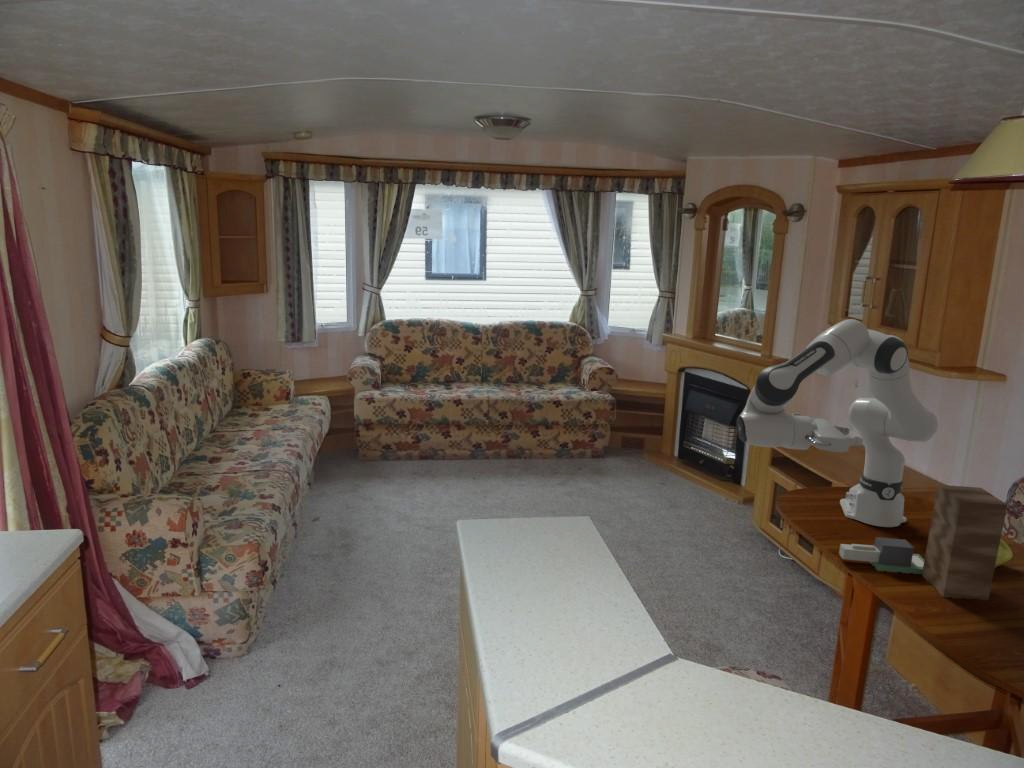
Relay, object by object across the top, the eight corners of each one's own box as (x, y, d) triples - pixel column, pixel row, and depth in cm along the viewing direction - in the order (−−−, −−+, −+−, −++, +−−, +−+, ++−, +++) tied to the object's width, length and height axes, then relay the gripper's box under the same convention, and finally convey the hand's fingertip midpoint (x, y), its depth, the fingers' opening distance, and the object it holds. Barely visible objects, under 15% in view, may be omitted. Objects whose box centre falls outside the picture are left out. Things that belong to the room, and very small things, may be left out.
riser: (921, 575, 199) (937, 484, 193) (963, 578, 198) (981, 487, 192) (943, 597, 187) (961, 501, 182) (988, 600, 186) (1007, 504, 181)
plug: (837, 552, 208) (840, 534, 206) (902, 557, 206) (905, 539, 204) (844, 560, 202) (846, 542, 201) (910, 566, 200) (913, 548, 199)
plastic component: (969, 571, 197) (941, 542, 204) (955, 588, 202) (928, 559, 209) (1020, 557, 204) (991, 530, 211) (1005, 573, 209) (978, 546, 216)
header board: (863, 554, 210) (864, 550, 210) (917, 558, 209) (918, 554, 209) (877, 570, 200) (878, 565, 200) (934, 575, 199) (935, 570, 199)
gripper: (814, 432, 182) (872, 435, 181) (791, 411, 202) (843, 414, 201) (811, 456, 184) (868, 460, 183) (788, 433, 203) (839, 436, 202)
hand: (854, 436), depth 192 cm, fingers open, 8 cm apart
